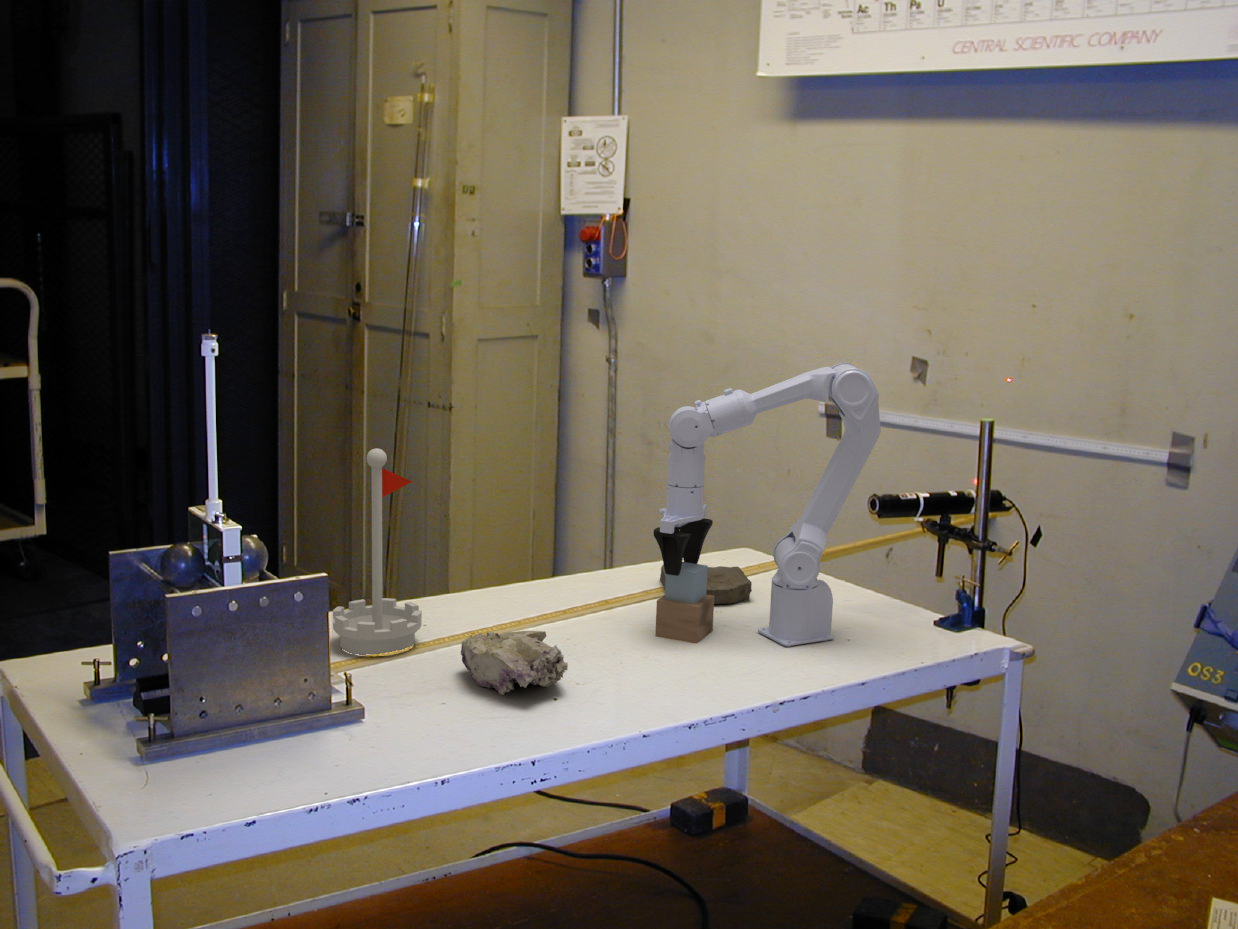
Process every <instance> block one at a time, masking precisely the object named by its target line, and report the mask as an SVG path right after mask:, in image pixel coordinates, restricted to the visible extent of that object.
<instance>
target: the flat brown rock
mask: <svg viewBox="0 0 1238 929" xmlns="http://www.w3.org/2000/svg"><path fill="white" fill-rule="evenodd" d="M744 572H745V571H743V570H742V569H741V567H739V566H721V565H720V566H714V567H713V566H712V567H711V566H708V570H707V591H706V595H712V596H714V605H720V604H728V605H729V604H734V603H738V602H741V601H748V600H750V595H751V592H752V591H753V590H752V584H753V583H752V581H751V580H750V579H749V578H748V576H746V575H745V573H744ZM659 581H660V583H661V584H662V587H663V586H664V587H665V581H666V573H665V569H664V564H662V565H661V568H660V578H659ZM664 587H663V588H664Z"/></svg>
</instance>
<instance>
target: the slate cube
mask: <svg viewBox="0 0 1238 929" xmlns="http://www.w3.org/2000/svg"><path fill="white" fill-rule="evenodd" d="M708 567H709V566H708V565H705V564H699V563H697V564H694V563H688V562H684V561H682V567H681V571H680V574H679V575H678V576H675V575H668V574H666V581H665V589H664V595H665V599H668V600H674V601H680V602H686V603H691V604H695V603H696V602H698V601H699V600H701V599H702V598H704V597H706V591H707V570H708Z"/></svg>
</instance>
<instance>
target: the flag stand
mask: <svg viewBox="0 0 1238 929" xmlns="http://www.w3.org/2000/svg"><path fill="white" fill-rule="evenodd" d="M387 457H388V456H387V453H386V452H385V451H384V450H383V449H381V448H377V447H376V448H372V449H371V450H369V451H368V452H367V455H366V462H367V464H368V466H369V467H371V575H372V576H371V589H372V590H371V597H372V598H371V600H372V601H371V605H366V604H367V600H365V599H364V598H363V599H356V600H352V601H348V609H345V606H336V607H335V608H334V609H333V610H332V629H333V631H334V633H336V634H337V635H338V636H339V644H340V646H339V647H341V648H342V649H343V650H345V651H347V652H349V653H352V654H359V655H366V654H380V653H386V652H392V651H396V650H402V649H405V648H407V647H410V646H412V645H413V644H414V643H416V642H415V641H416V639H415V638H416V637H415V636H416V635H415V634H416V633H417V632H418V631H419V630H420V629H421V627H422V621H423V620H422V610H420V609H419V608H420V607H419V604H417V603H415V602H412V601H407V602H404V606H397V598H389V597H388V598H386V597H384V598H383V498H385V497H386V496H388V495H390V494H391V493H394V492H396V491H397V490H400V489H402V488H403V487H405V486H408V485H409V484H412V483H413V481H411V480H410V479H408V478H406V477H403V476H401V475H399V474H396V473H394V472H392V471H391V470H388V469H385V468H384V466H385V465H386V463H387V460H388V458H387ZM414 645H415V644H414ZM341 648H340V649H341Z"/></svg>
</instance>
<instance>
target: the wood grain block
mask: <svg viewBox="0 0 1238 929" xmlns="http://www.w3.org/2000/svg"><path fill="white" fill-rule="evenodd" d="M714 607H715V604H714V596H712V595H706V597H704V598H702V599H701V600H699V601H698V602H696V603H695V604H691V603H686V602H680V601H674V600H668V599H665V594H664V595H663V596H661V597H660V598H658V599H657V600H656V607H655V608H656V611H655V614H656V615H655V637H658V638H664V639H669V640H674V641H679V642H680V641H681V642H685V643H692V644H699V642H701V641H702V640H703V639H705V638H706V637H707V636H708V635H710V633H712V632H713V628H714V612H715V611H714V609H715V608H714Z"/></svg>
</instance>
